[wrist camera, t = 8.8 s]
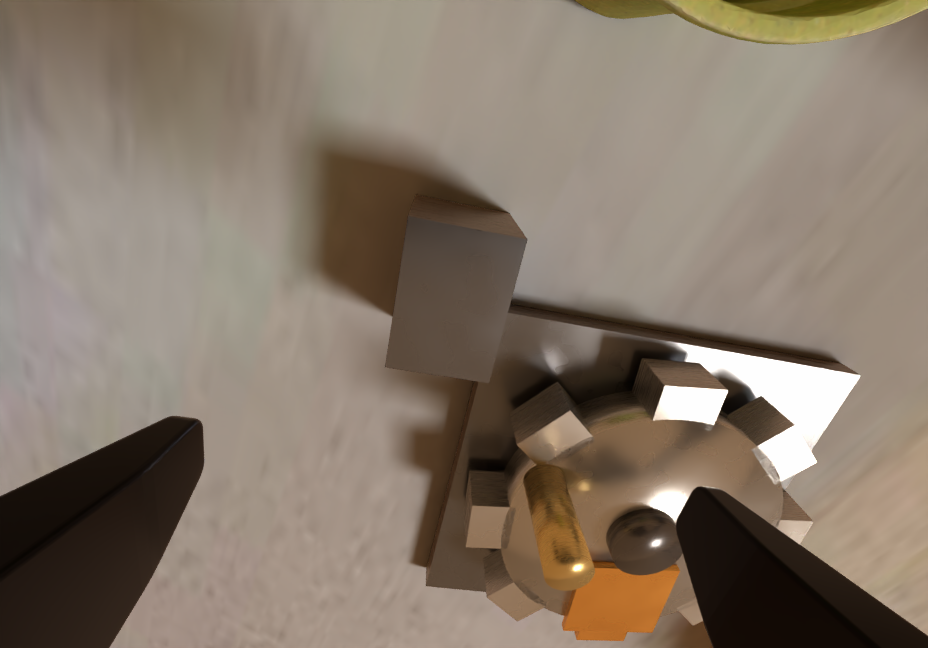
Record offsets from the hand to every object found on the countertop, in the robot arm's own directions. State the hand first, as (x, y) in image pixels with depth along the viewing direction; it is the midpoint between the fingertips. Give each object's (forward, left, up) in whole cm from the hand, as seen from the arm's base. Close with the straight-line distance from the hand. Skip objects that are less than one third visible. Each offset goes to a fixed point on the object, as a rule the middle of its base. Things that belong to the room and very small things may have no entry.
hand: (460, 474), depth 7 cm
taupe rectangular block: (0, 0, -11) cm, 11 cm away
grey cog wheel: (-10, +9, -10) cm, 17 cm away
